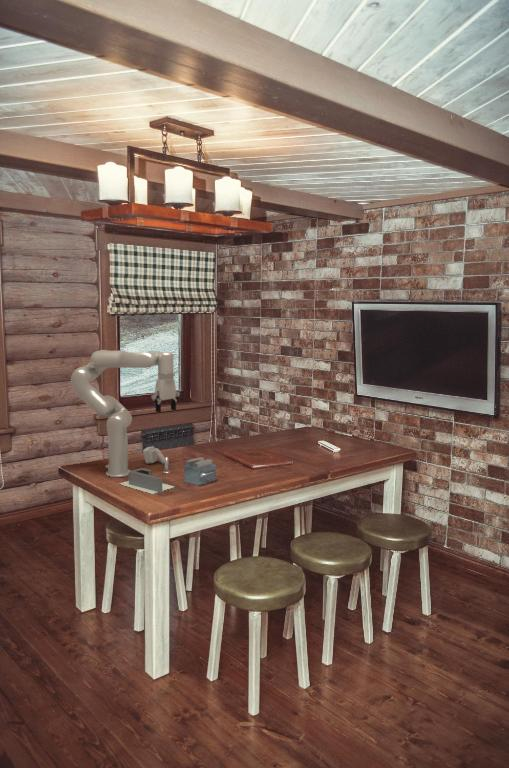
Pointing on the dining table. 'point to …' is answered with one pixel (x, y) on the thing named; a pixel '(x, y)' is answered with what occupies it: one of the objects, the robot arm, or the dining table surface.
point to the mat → (164, 487)
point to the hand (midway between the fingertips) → (165, 410)
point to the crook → (145, 479)
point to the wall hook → (152, 455)
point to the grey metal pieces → (197, 471)
